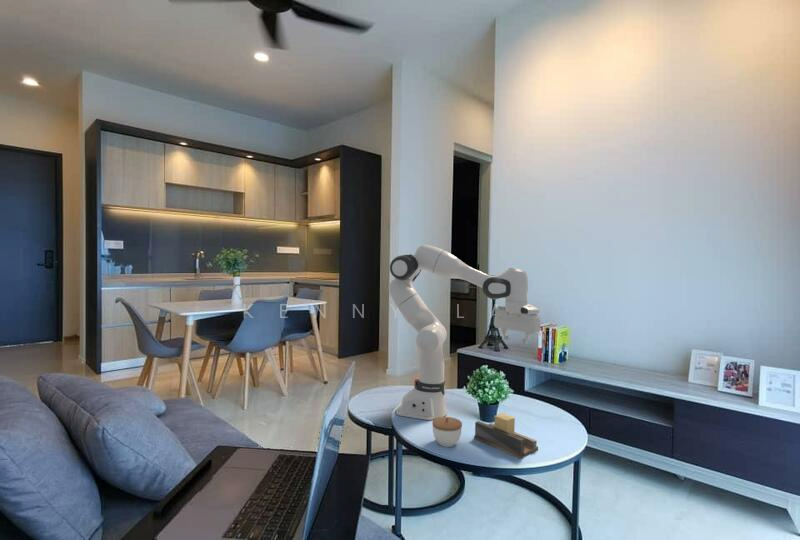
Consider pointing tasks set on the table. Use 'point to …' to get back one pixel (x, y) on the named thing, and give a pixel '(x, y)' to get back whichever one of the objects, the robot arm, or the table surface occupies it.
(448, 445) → the lidded jar
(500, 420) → the ochre block
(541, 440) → the table surface
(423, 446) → the table surface
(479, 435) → the base
